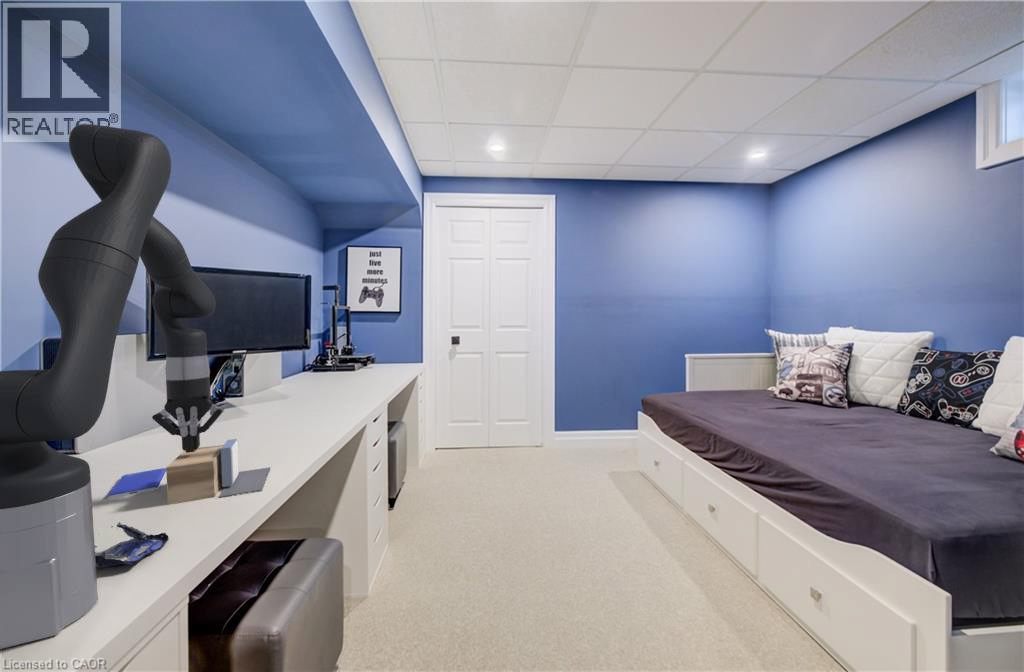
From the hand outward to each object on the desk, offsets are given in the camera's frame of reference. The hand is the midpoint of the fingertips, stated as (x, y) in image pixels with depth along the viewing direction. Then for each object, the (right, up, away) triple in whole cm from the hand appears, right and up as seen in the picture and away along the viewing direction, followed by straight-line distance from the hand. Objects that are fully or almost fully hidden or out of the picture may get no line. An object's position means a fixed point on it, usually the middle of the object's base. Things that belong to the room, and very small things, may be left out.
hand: (191, 451), depth 87 cm
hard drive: (-15, -10, +4) cm, 18 cm away
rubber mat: (+9, -9, +5) cm, 14 cm away
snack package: (+8, -11, -24) cm, 27 cm away
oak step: (+1, -9, +1) cm, 9 cm away
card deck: (+5, -4, +3) cm, 7 cm away
